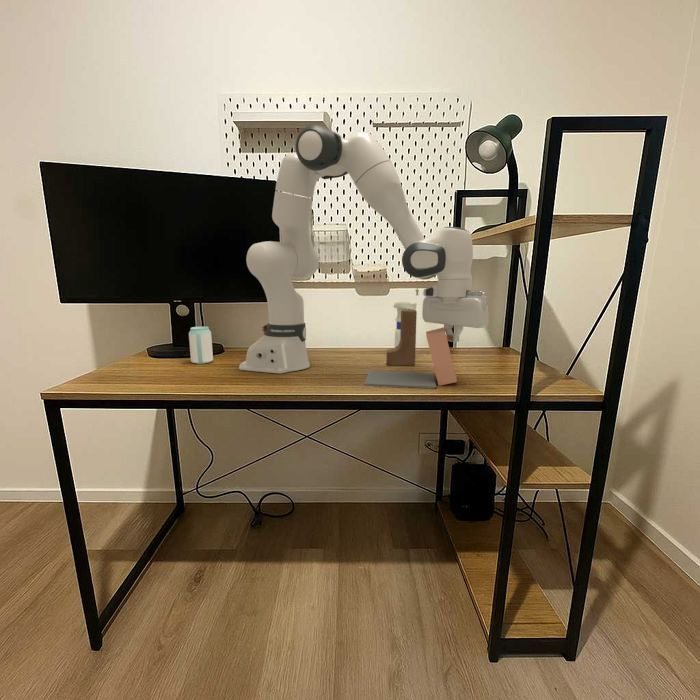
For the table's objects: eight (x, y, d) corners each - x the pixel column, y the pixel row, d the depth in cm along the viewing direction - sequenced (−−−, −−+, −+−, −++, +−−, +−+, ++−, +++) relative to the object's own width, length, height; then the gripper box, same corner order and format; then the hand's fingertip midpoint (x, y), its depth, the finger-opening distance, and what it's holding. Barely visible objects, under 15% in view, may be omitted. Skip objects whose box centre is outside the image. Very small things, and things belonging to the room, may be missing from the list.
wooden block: (387, 365, 129) (388, 310, 125) (386, 362, 133) (387, 309, 129) (415, 365, 129) (416, 310, 125) (412, 362, 133) (414, 309, 129)
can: (193, 360, 137) (190, 326, 134) (214, 359, 138) (212, 325, 136) (189, 365, 130) (186, 329, 128) (211, 364, 131) (208, 328, 129)
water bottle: (405, 352, 149) (407, 286, 144) (420, 356, 142) (423, 286, 137) (388, 355, 145) (389, 286, 140) (402, 359, 138) (404, 287, 133)
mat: (364, 385, 106) (364, 383, 106) (369, 372, 119) (369, 370, 119) (436, 388, 103) (436, 386, 103) (433, 375, 117) (433, 373, 117)
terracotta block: (438, 385, 106) (426, 336, 104) (437, 378, 114) (426, 331, 112) (457, 381, 105) (445, 331, 103) (454, 374, 113) (443, 327, 111)
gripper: (495, 290, 98) (493, 345, 100) (434, 289, 114) (433, 335, 117) (479, 291, 94) (477, 348, 97) (418, 290, 111) (418, 338, 114)
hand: (453, 341), depth 107 cm, fingers closed
